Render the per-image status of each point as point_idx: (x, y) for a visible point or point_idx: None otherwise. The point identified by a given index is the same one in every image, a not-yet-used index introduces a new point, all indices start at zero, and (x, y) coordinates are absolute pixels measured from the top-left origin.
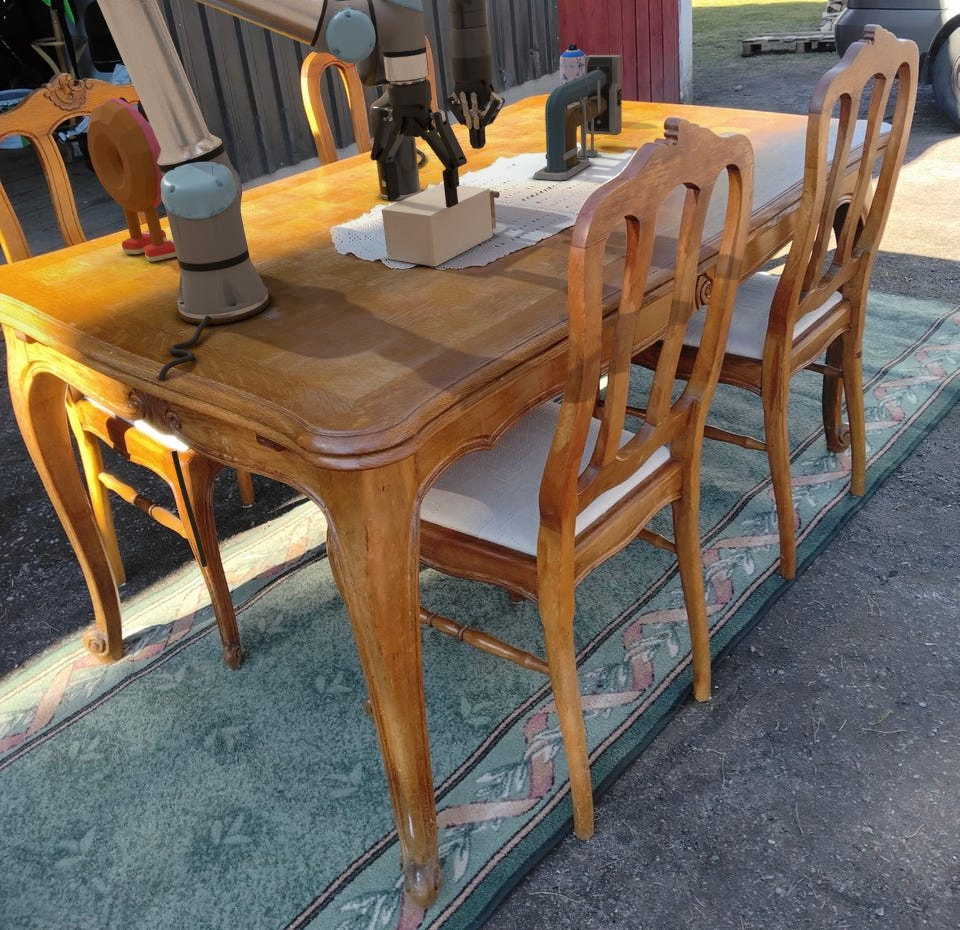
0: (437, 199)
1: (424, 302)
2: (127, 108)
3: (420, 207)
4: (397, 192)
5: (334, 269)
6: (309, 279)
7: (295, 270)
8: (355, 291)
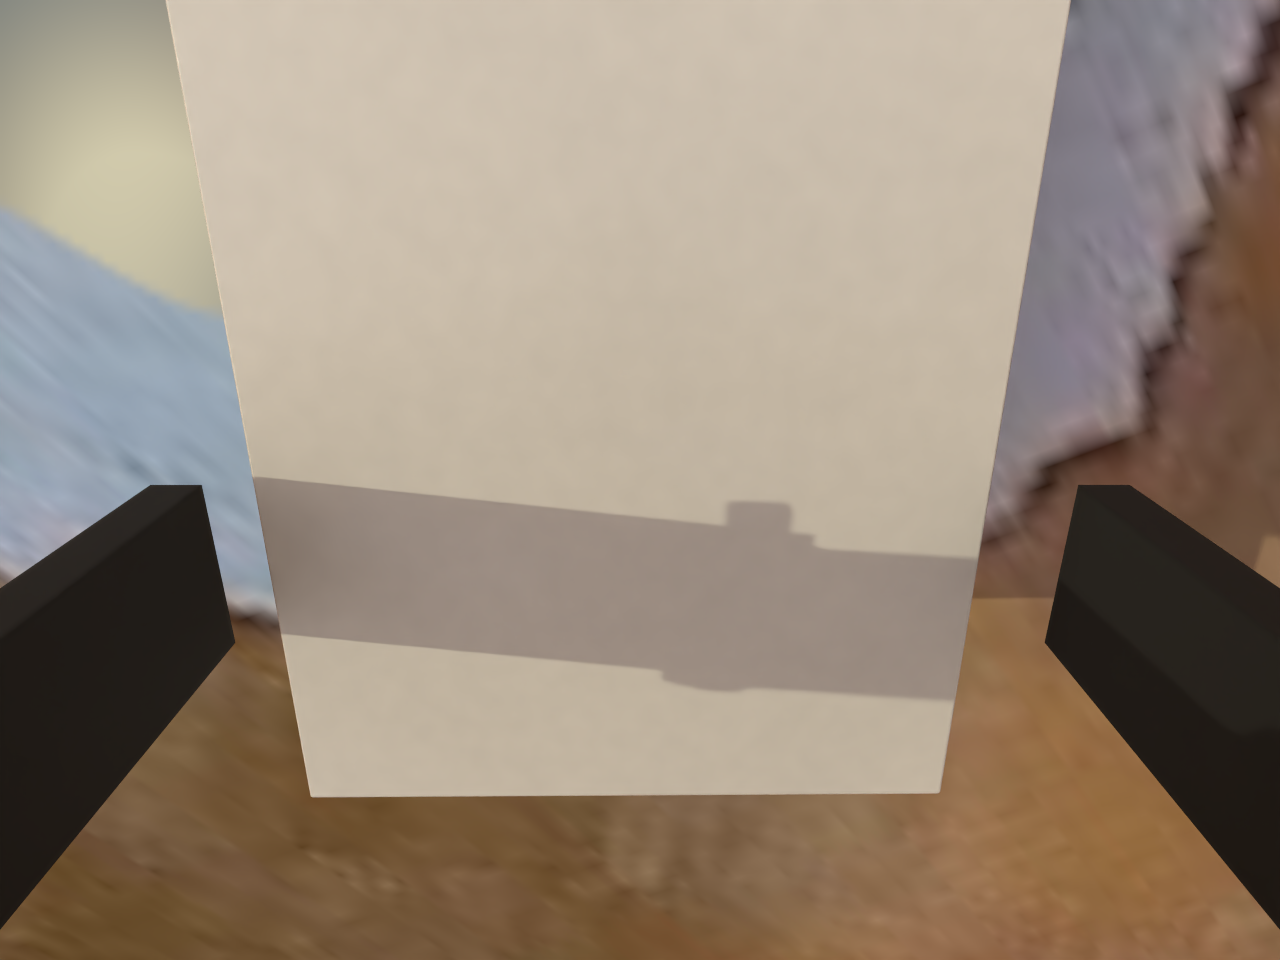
0: (663, 291)
1: (1043, 935)
2: None
3: (672, 629)
4: (170, 550)
5: (274, 795)
6: (282, 931)
7: (90, 876)
8: (631, 954)
